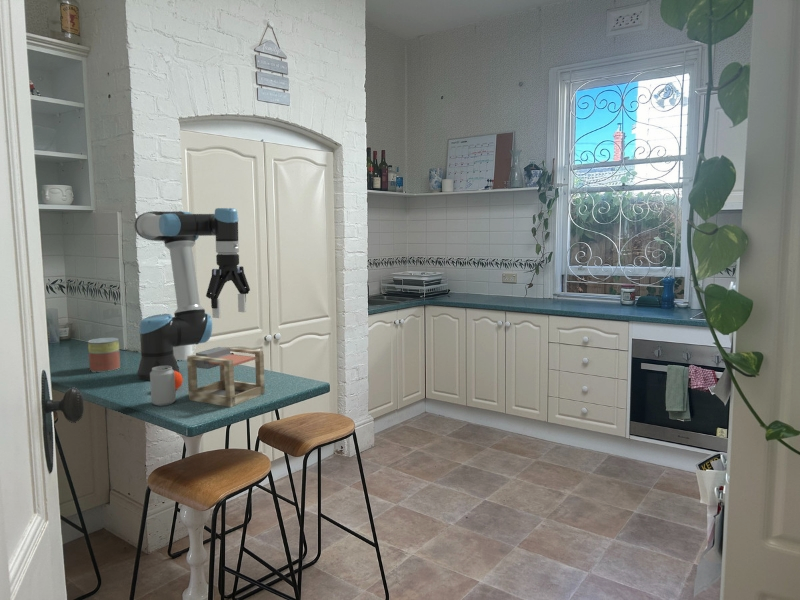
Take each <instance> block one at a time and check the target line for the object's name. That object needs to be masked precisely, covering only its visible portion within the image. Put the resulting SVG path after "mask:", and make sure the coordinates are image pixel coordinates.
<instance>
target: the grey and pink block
mask: <svg viewBox="0 0 800 600" xmlns="http://www.w3.org/2000/svg"><path fill="white" fill-rule="evenodd" d="M225 347H226V346H218V347H214V348H210V349H207V350H202V351H198V352H196V353H195V355H196V356H204V357H212V358H220V359H228V360H233V365H234V367H236V366H238V365H243V364H245V363H248V362H251V361H255V359H256V357H255V356H251V355H241V354H234V353H235V352H231V351H230V348H225ZM220 365H224V363H216V362H208V361H201V360H196V368H198V369H203V370H209V369H213V368H216V367H220Z"/></svg>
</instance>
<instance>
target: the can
mask: <svg viewBox="0 0 800 600" xmlns="http://www.w3.org/2000/svg"><path fill="white" fill-rule="evenodd" d="M149 383H150V400H151V403H152V404H153V405H155V406H157V407H158V406H159V407H160V406H161V407H162V406H168V405H172V404H173V403H175V401H176V400H177V397H176V396H177V395H176V390H175V373H174V370H173V369H172V367H171V366H157V367H154V368H152V371H151V373H150V380H149Z"/></svg>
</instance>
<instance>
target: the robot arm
mask: <svg viewBox="0 0 800 600" xmlns="http://www.w3.org/2000/svg"><path fill="white" fill-rule="evenodd" d="M133 224H134V225H133V227H134V231H135V232H136V234H137V235H138V236H139V237H141V238H142V239H144V240H148V241H154V242H155V241H156V242H164V247H165V248H166V249H168V250H169V255H170V263H171V264H170V265H171V270H172V277H173V283H174V285H173V286H174V293H175V299H176V300H175V301H176V306H177V309H176V310H175V311H174V317H173V316H172V314H171V313H163V314H161V313H160V314H155V315H154V314H153V315H149V316H147V317H145V318H142V319H141V320H140V322H139V332H138V333H139V338H140V341H139V342H140V355H141V356H140V357H141V358H140V362H139V366H138V370H137V378H138V379H139V380H143V381H150V373H151V371H152V368H154V367H157V366H171V367H172V369H173V370H174V371H177V372H179V373H180V374H181V371H180V367H179V365H178V361H176V359H175V357H174V350H173V349H174V347H177V346H185V345H192V346H194V345H193V344H196V345H199V344H204V343H208V341H209V340H210V338H211V336H212V333H213V320H212V318H214V319H221V299H220V298H219V296H220V294H221V292H222V290H223V288H224V286H225V284H226V283H228V282H230V281H231V282H232V284H234V286H235V288H236V289H237V291H238V294H237V309H238V313H247V309H246V308H247V306H246V305H247V304H246V303H247V294H249V292H250V291H251V288H250V285H249V282H248V279H247V277H246V274H245V269H244V266H241V265H240V255H239V254H238V253H239V252H240V249H239V248H240V246H239V215H238V210H237V209H236V208H234V207H233V208H231V207H229V208H228V207H221V208H220V207H218V208H215V209H214V213H191V212H190V211H181V210H179V211H152V210H151V211H146V212H144V213H142V214H139V215H138V216H137V217H136V219H135V220H134V223H133ZM201 236H203V237H207V236H213V237H215V253H217V254H216V255H215V257H216V262H215V263H216V265H217V266H218V268H212V269H211V277H210V280H209V284H208V287H207V291H206V295H205V297H206V298H208V299H210V304H211V305H210V306H211V311H212V314H211V315H212V317H211V315H210V314H209V313H206V310H205V308H204V307H202V306H201V301H200V295H199V289H198V288H199V287H198V280H197V274H196V273H197V272H196V267H195V260H194V252H193V247H194V246H195V245H196V241H197V240H198V239H199V237H201ZM239 265H240V266H239Z"/></svg>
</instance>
